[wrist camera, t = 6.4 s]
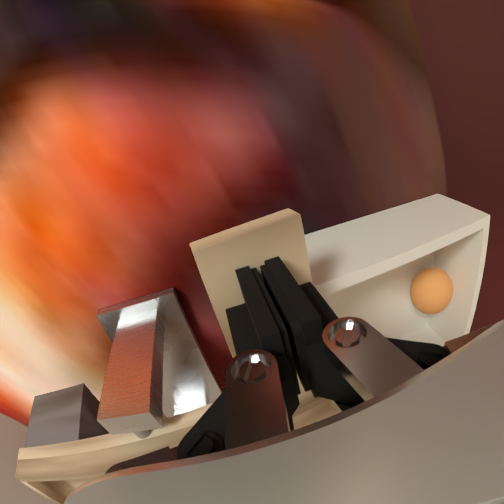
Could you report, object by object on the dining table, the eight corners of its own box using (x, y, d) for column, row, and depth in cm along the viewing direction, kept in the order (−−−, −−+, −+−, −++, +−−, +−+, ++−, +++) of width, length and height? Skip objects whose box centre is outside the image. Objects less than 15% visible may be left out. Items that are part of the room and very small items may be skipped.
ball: (461, 282, 19) (447, 256, 22) (416, 287, 20) (407, 260, 23) (454, 320, 20) (443, 293, 24) (412, 326, 22) (405, 297, 25)
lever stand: (98, 309, 19) (64, 413, 11) (173, 286, 20) (172, 395, 11) (168, 413, 25) (173, 500, 16) (227, 399, 25) (247, 488, 17)
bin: (279, 242, 20) (313, 286, 15) (437, 193, 21) (490, 215, 16) (307, 379, 26) (330, 427, 21) (428, 324, 28) (461, 356, 22)
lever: (-36, 305, 12) (-85, 378, 5) (311, 169, 17) (406, 193, 10) (84, 449, 19) (86, 519, 12) (336, 360, 24) (388, 418, 17)
